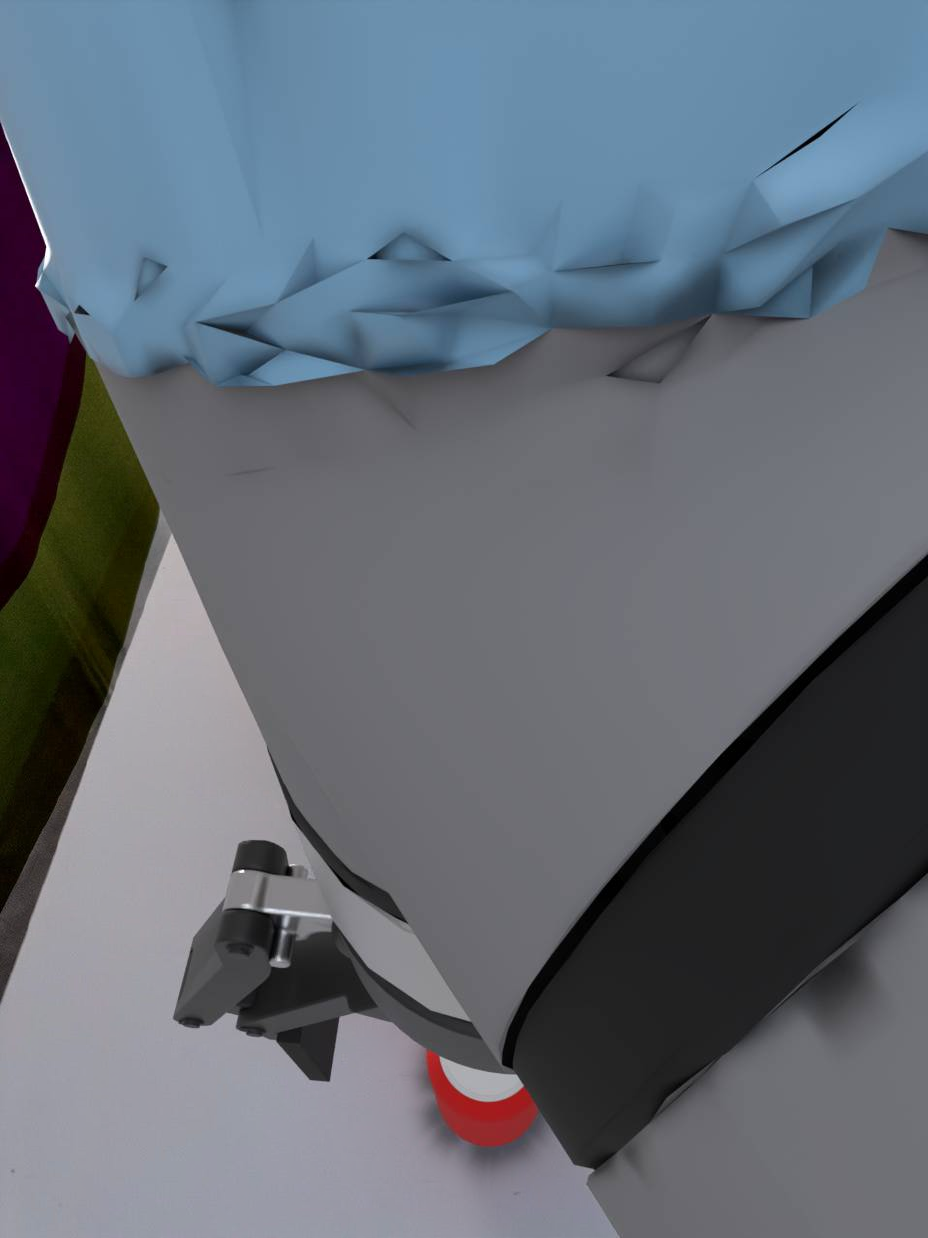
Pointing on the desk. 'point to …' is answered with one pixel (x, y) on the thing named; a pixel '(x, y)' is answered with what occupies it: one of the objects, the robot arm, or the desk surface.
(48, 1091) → the desk surface
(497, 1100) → the beverage can
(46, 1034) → the desk surface
